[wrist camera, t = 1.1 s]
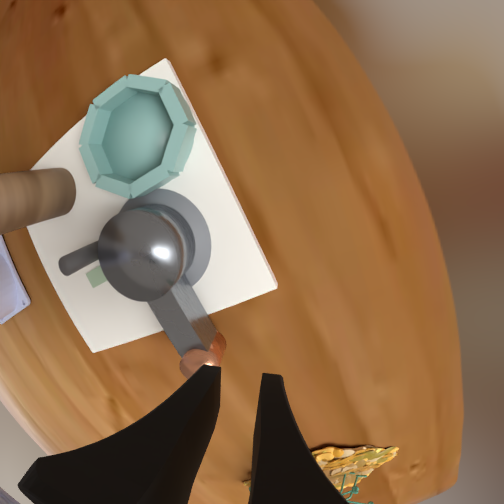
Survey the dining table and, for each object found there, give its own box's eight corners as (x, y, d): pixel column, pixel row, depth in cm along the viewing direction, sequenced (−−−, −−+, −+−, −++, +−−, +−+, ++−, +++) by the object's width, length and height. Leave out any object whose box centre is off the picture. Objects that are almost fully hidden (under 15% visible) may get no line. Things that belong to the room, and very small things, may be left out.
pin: (55, 223, 18) (-14, 247, 12) (39, 183, 18) (-29, 196, 11) (82, 201, 18) (7, 220, 11) (66, 158, 17) (-9, 163, 10)
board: (97, 348, 22) (68, 379, 17) (19, 188, 19) (-20, 196, 14) (277, 283, 18) (273, 320, 14) (170, 61, 15) (135, 35, 11)
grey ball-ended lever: (112, 225, 17) (81, 237, 14) (172, 189, 16) (146, 194, 13) (189, 361, 20) (174, 390, 16) (251, 342, 18) (244, 374, 15)
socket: (121, 211, 17) (106, 215, 16) (85, 123, 16) (69, 120, 14) (214, 157, 16) (205, 156, 14) (168, 63, 14) (156, 54, 13)
